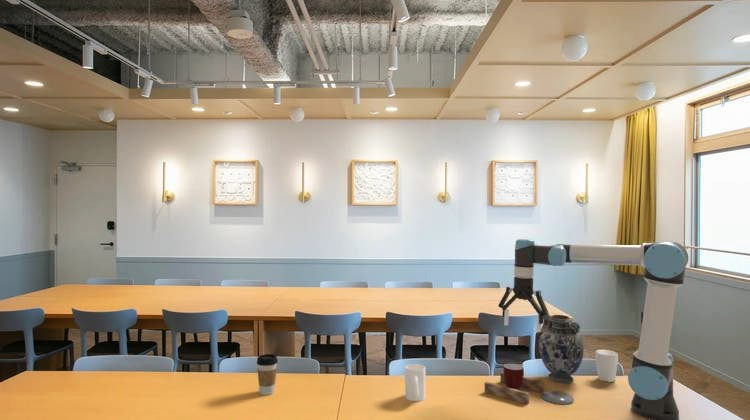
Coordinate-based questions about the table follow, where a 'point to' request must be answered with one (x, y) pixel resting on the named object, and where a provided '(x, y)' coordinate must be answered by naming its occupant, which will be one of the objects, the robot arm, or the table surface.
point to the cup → (606, 364)
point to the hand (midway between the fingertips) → (522, 328)
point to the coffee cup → (267, 373)
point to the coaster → (557, 397)
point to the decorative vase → (561, 348)
